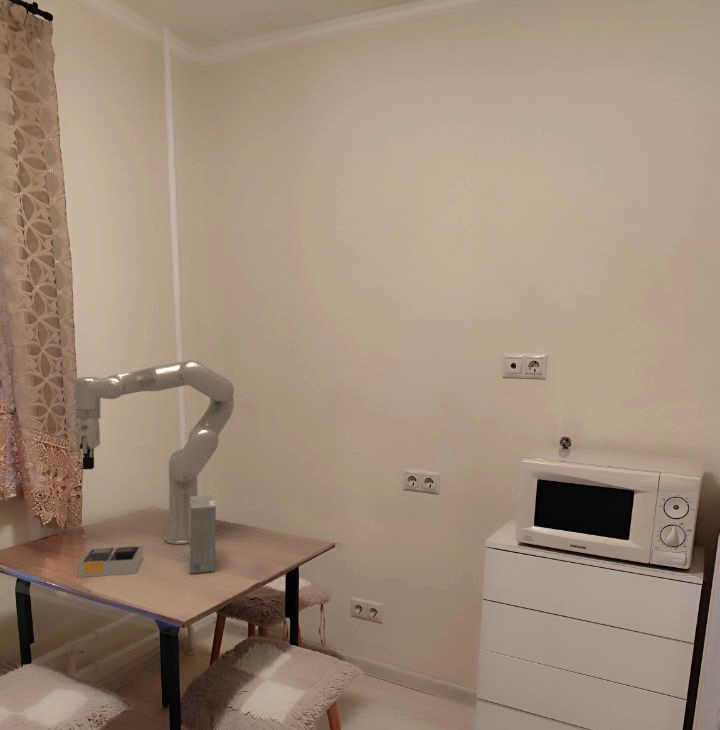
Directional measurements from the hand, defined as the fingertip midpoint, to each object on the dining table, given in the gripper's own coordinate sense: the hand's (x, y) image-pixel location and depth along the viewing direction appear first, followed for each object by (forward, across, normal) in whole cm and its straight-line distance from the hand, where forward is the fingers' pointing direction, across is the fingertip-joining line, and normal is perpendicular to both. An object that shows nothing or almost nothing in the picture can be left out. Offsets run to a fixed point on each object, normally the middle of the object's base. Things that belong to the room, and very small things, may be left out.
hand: (88, 468), depth 192 cm
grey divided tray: (+27, -18, -11) cm, 35 cm away
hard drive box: (+27, -21, -38) cm, 51 cm away
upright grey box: (+26, -18, -8) cm, 33 cm away
